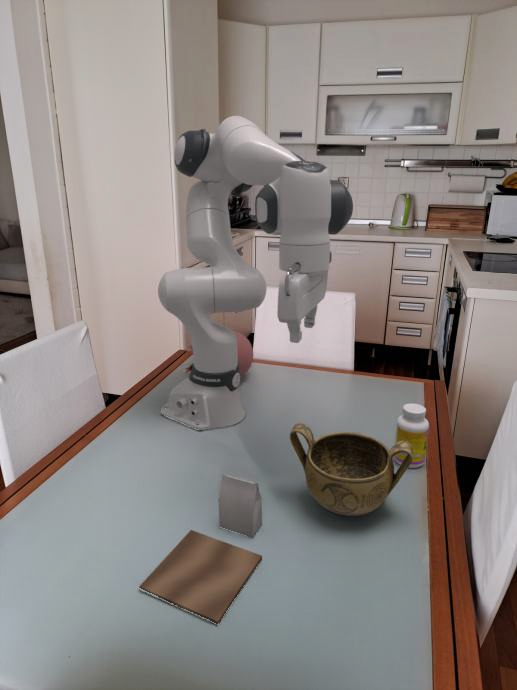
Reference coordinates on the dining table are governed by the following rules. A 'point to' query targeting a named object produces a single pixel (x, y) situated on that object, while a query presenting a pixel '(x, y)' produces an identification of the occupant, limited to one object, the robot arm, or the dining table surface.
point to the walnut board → (202, 575)
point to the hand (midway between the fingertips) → (302, 333)
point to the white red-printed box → (240, 506)
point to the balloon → (242, 353)
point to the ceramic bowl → (349, 469)
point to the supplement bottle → (413, 433)
